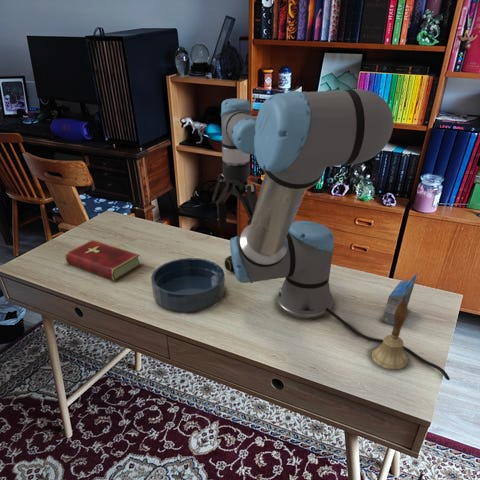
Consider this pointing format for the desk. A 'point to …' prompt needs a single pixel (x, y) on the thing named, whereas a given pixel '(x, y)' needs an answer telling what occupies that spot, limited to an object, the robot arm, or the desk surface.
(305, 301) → the robot arm
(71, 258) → the hardcover book
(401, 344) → the hand bell
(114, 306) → the desk surface
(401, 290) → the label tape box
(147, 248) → the desk surface
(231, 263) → the tape measure
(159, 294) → the bowl
